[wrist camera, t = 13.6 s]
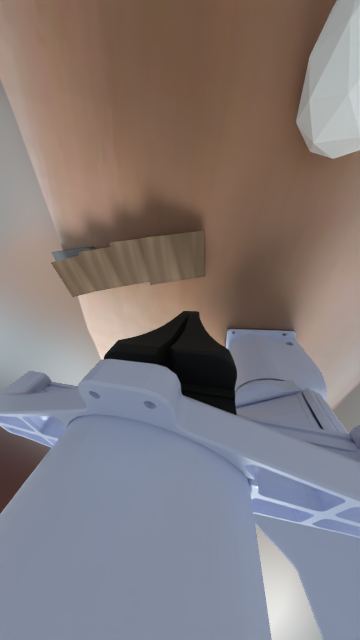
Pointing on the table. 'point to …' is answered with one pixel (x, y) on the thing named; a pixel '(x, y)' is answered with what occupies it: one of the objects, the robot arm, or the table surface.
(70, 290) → the domino
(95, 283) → the domino
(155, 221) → the table surface
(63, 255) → the domino
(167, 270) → the domino
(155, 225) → the table surface
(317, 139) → the geometric ball
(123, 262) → the domino
